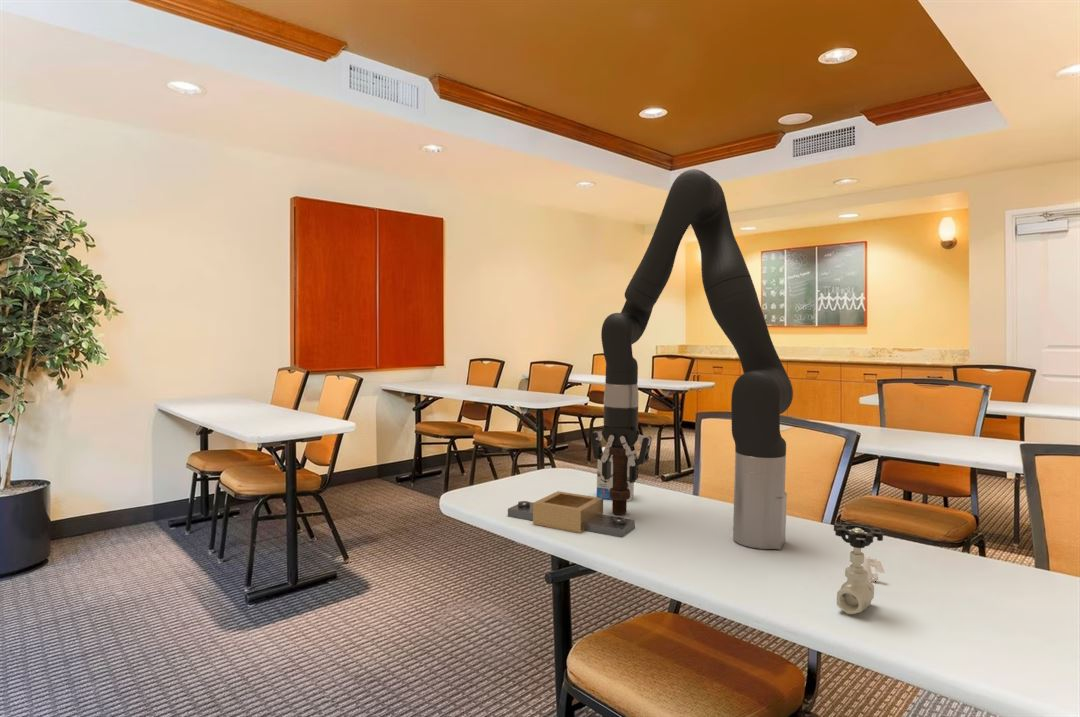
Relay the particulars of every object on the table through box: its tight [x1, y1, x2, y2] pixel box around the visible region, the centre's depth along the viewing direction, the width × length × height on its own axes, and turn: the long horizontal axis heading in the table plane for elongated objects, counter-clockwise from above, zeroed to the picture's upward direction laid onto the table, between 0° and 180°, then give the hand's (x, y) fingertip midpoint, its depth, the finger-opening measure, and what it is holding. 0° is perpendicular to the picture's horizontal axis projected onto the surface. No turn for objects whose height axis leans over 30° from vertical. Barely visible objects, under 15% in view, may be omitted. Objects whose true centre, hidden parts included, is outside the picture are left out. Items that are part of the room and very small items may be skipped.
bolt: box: [609, 447, 633, 516], centre depth 138 cm, size 6×5×15 cm
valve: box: [833, 521, 884, 615], centre depth 92 cm, size 7×7×12 cm
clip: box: [861, 555, 885, 583], centre depth 103 cm, size 5×2×4 cm, turn 41°
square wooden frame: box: [532, 490, 604, 534], centre depth 132 cm, size 11×11×4 cm
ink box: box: [596, 446, 635, 502], centre depth 151 cm, size 9×5×12 cm, turn 73°
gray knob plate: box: [585, 513, 636, 538], centre depth 128 cm, size 9×7×2 cm
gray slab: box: [507, 500, 534, 522], centre depth 137 cm, size 8×7×2 cm
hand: (619, 480), depth 138 cm, fingers closed on bolt, 5 cm apart
